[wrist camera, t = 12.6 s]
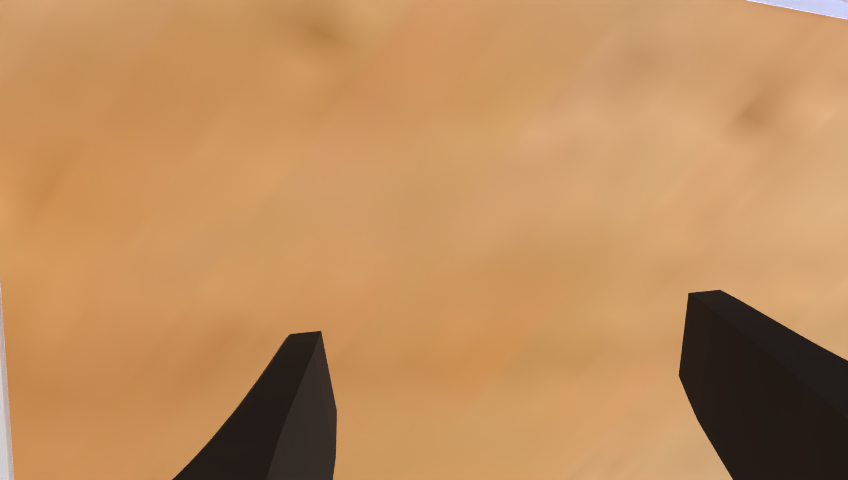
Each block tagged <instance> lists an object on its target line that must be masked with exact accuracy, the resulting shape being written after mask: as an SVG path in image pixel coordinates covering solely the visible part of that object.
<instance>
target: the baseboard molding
mask: <svg viewBox="0 0 848 480" xmlns="http://www.w3.org/2000/svg"><path fill="white" fill-rule="evenodd" d="M0 480H14V470H13V456H12V441H11V427H10V413H9V398H8V384H7V369H6V355H5V341H4V326H3V312H2V297H1V283H0Z"/></svg>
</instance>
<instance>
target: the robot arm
mask: <svg viewBox="0 0 848 480" xmlns="http://www.w3.org/2000/svg"><path fill="white" fill-rule="evenodd" d="M748 1H753V2H758V3H763V4H769V5H774V6H779V7H784V8H790V9H795V10H800V11H805V12H811V13H816V14H821V15H826V16H832V17H837V18H842V19H847V20H848V0H748ZM679 377H680V380H681V382H682V385H683V387H684V390H685V392H686V394H687V397H688V399H689V402H690V404H691V406H692V408H693V411H694V413H695V415H696V417H697V420H698V422H699V423H700V425H701V427H702V428H703V430H704V432H705V434H706V435H707V437H708V439H709V440H710V442H711V444H712V445H713V447H714V449H715V450H716V452H717V454H718V455H719V457H720V459H721V460H722V462H723V464H724V465H725V467H726V469H727V470H728V472H729V474H730V475H731V477H732V479H733V480H848V361H847V360H845V359H843V358H841V357H839V356H837V355H835V354H834V353H832V352H830V351H828V350H826V349H824V348H822V347H820V346H819V345H817V344H815V343H813V342H811V341H810V340H808V339H806V338H804V337H803V336H801V335H799V334H797V333H795V332H794V331H792V330H790V329H788V328H787V327H785V326H783V325H782V324H780V323H778V322H776V321H775V320H773V319H771V318H769V317H768V316H766V315H764V314H763V313H761V312H759V311H757V310H756V309H754V308H752V307H751V306H749V305H747V304H745V303H744V302H742V301H740V300H738V299H736V298H735V297H733V296H731V295H729V294H727V293H725V292H723V291H721V290H714V291H704V292H695V293H689V294H688V302H687V311H686V319H685V328H684V336H683V345H682V353H681V361H680V370H679ZM336 425H337V410H336V405H335V400H334V395H333V390H332V384H331V379H330V374H329V369H328V364H327V359H326V354H325V349H324V344H323V339H322V334H321V331H316V332H306V333H297V334H290V335H289V336H288V337H287V338H286V339H285V341H284V342H283V344H282V345H281V347H280V348H279V350H278V351H277V353H276V354H275V356H274V357H273V359H272V360H271V362H270V363H269V365H268V366H267V367H266V369H265V370H264V372H263V373H262V375H261V376H260V377H259V379H258V380H257V382H256V383H255V384H254V386H253V387H252V388H251V390H250V391H249V392H248V394H247V395H246V397H245V398H244V399H243V401H242V402H241V403H240V405H239V406H238V407H237V408H236V410H235V411H234V412H233V413H232V415H231V416H230V417H229V418H228V419H227V421H226V422H225V423H224V424H223V426H222V427H221V428H220V429H219V430H218V432H217V433H216V434H215V435H214V436H213V438H212V439H211V440H210V441H209V442H208V443H207V444H206V445H205V447H204V448H203V449H202V450H201V451H200V452H199V453H198V454H197V455H196V456H195V457H194V458H193V460H192V461H191V462H190V463H189V464H188V465H187V466H186V467H185V468H184V469H183V470H182V471H181V472H180V473H179V474H178V475H177V476H176V477H175V478H174V479H172V480H333V473H334V466H335V459H336Z"/></svg>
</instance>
